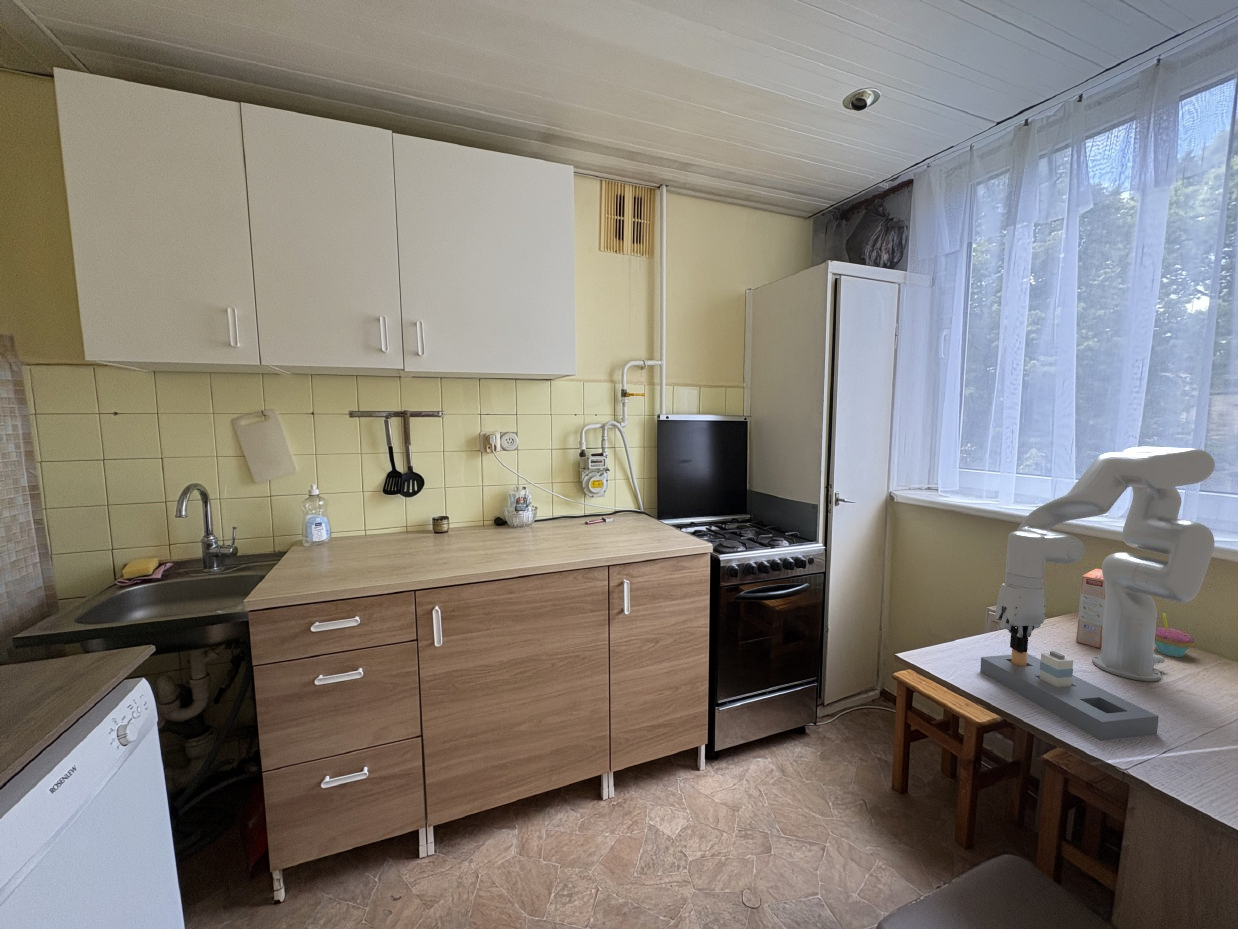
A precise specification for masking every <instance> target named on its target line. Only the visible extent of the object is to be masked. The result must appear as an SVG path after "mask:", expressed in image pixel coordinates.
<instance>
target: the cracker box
mask: <svg viewBox="0 0 1238 929" xmlns="http://www.w3.org/2000/svg"><path fill="white" fill-rule="evenodd" d="M1080 584H1081V586H1080V596H1079V607H1078V608H1079V609H1078V616H1077V617H1078V618H1077V627H1076V641H1075V642H1076V643H1080V644H1083V645H1086V646H1089V647H1093V648H1097V649H1100V650H1101V644H1102V631H1103V618H1104V607H1105V584H1104V579H1103V574H1102V568H1101V569H1100V568H1094V569H1093V570H1090V571H1088V572H1087V573H1084V574H1083V575H1081V583H1080Z"/></svg>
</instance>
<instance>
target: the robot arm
mask: <svg viewBox="0 0 1238 929" xmlns="http://www.w3.org/2000/svg"><path fill="white" fill-rule="evenodd" d="M1215 465H1216V462H1215V460H1214V458H1213V456H1212V455H1211V454H1210V453H1209V452H1207V451H1206V450H1203V449H1200V448H1193V447H1192V448H1190V447H1189V448H1188V447H1162V446H1135V447H1129V448H1126V449H1124V450H1123V451H1121V452H1120V451H1119V452H1118V451H1117V452H1116V451H1115V452H1114V451H1113V452H1105V453H1103V454H1101V455H1099V456H1098V457H1096V458H1095V459H1094V461H1092V463H1091V464H1090V465H1089V466H1088V468H1087V469H1086V470H1085V472H1084V473H1083V474H1082V475H1081V477H1080V478H1079V479H1078V480H1077V482H1076V483H1074V485H1073V487H1072V488H1071V489H1070V490H1069V491H1068V493H1067V494H1065V495H1062V496H1060V497H1058V498H1055V499H1053V500H1051V501H1049V502H1047V503H1045V504H1043V505H1041V506H1039V507H1038V508H1035V509H1034V510H1032V511H1031V512H1030V513H1029V514H1028V515H1027V516H1026V517H1025V519H1023V521H1022V522H1021V523H1020V524H1019V526H1018V527H1017V529H1016V530H1015V531H1011V532H1010V533H1009V534H1008V535H1007V547H1006V558H1005V560H1006V561H1005V574H1004V583H1001V585H1000V588H999V592H998V596H997V602H996V607H995V619H996V620H998V621H1000V623H999V627H1000V628H1001V629H1004V630H1006V631H1008V633H1009V634H1010V641H1009V647H1010V649H1014V650H1016V651H1018V652H1020V653H1023V652H1027V653H1028V650H1029V649H1028V646H1029V638H1030V637H1032V634H1033V633H1032V632H1033V631H1034V630H1035V629H1039V628H1041V625H1042V624H1044V622H1045V618H1046V593H1045V592H1046V591H1045V588H1044V584H1045V583H1044V582H1045V571H1046V563H1054V564H1063V565H1068V564H1074V563H1076V562H1079V561H1081V560H1082V558H1083V557H1084V556H1085V552H1086V547H1085V545H1084V543H1083V541H1082V540H1081V539H1079V538H1077V537H1076V536H1074V535H1072V534H1071V535H1070V534H1067V533H1063V532H1059V531H1053V530H1051V529H1053V528H1054V527H1056V526H1057V525H1059V524H1063V523H1066V522H1068V521H1074V520H1081V519H1087V518H1088V519H1089V518H1094V517H1098V516H1102V515H1105V514H1107V513H1109V511H1110V510H1111V508H1113V506H1114V505H1115V503H1116V502H1117V501H1118V500H1119V498H1120V497H1121V496H1122V495H1123V493H1125V491H1126V490H1127V489H1128V488H1130V487H1131V488H1132V495H1133V496H1132V500H1131V504H1130V507H1129V508H1128V513H1127V516H1126V519H1125V522H1124V526H1123V528H1122V533H1121V539H1122V541H1123V542H1124V544H1126V545H1127V546H1129V547H1131V548H1133V549H1136V550H1141V551H1146V552H1148V553H1149V552H1150V553H1154V554H1160V555H1164V556H1168V560H1164V559H1159V558H1155V557H1151V556H1147V555H1142V554H1137V553H1131V552H1126V551H1125V552H1123V551H1121V552H1114V553H1110V554H1109V555H1107V556H1105V559H1104V560H1103V561H1102V564H1101V570H1102V574H1103V579H1104V584H1105V607H1104V618H1103V631H1102V644H1101V649H1100V654H1095V655H1093V656H1092V657H1091V658H1092V659H1091V662H1092V664H1093V665H1095V666H1096V667H1097V668H1099V669H1102V670H1103V671H1106V672H1108V673H1109V674H1112V675H1113V674H1114V675H1115V676H1119V677H1122V678H1127V679H1129V680H1130V679H1131V680H1134V681H1141V682H1158V681H1160V680H1161V677H1162V674H1161V673H1160V671H1159V670H1157V669H1156V668H1155V665H1156V664H1164V663H1165V661H1166V660H1165V657H1163V656H1162V655H1160V654H1159V655H1154V650H1155V631H1156V628H1157V619H1158V608H1157V605H1156V602H1155V601H1154V599H1153V597H1154V598H1158V599H1161V600H1166V601H1170V602H1175V603H1188V602H1190V601H1192V600H1194V599H1195V598H1196V597H1197V595H1198V594H1199V592H1200V590H1201V587H1202V585H1203V583H1204V580H1205V577H1206V574H1207V571H1208V568H1209V565H1210V563H1211V559H1212V556H1213V554H1214V550H1215V538H1214V533H1213V532H1212V531H1211V529H1210V528H1209V527H1208V526H1206V525H1204V524H1202V523H1200V522H1196V521H1193V520H1186V519H1179V518H1178V517H1179V513H1180V509H1181V506H1182V497H1181V494H1180V492H1179V491H1178V489H1177V487H1183V486H1188V485H1195V484H1198V483H1201V482H1203V481H1205V480H1207V479H1208V478H1209V477H1211V475H1212V474H1213V473H1214V470H1215Z"/></svg>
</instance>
